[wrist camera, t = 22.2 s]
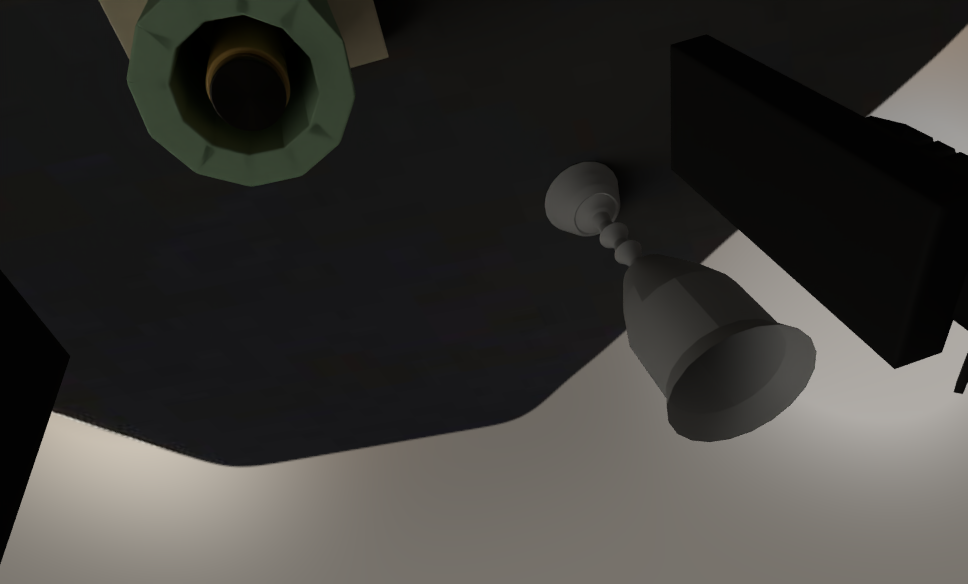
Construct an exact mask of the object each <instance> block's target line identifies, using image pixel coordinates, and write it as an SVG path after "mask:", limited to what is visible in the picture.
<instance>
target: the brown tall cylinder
mask: <svg viewBox="0 0 968 584" xmlns="http://www.w3.org/2000/svg"><path fill="white" fill-rule="evenodd" d="M206 90H207V94H208V97H209V99H210V101H211V103H212V105H213V107H214V109H215V111H216V112H217V114H218V115H219V116H220V117H221V118H222V119H223V120H224V121H225V122H226V123H228V124H229V125H231V126H233V127H235V128H238V129H241V130H246V131H258V130H263V129H265V128H268V127H270V126H272V125H273V124H275V123H276V122H277V121H278V120H279V119H280V117H281V116H282V114H283V113H284V110H285V108H286V106H287V104H288V101H289V97H290V83H289V76H288V70H287V63H286V57H285V50H284V44H283V37H282V31H281V28H280V27H277V26H274V25H271V24H268V23H265V22H263V21H260V20H257V19H254V18H251V17H248V16H246V15H240V16H234V17H228V18H222V19H217V20H214V27H213V33H212V40H211V47H210V53H209V60H208V67H207V74H206Z"/></svg>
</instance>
